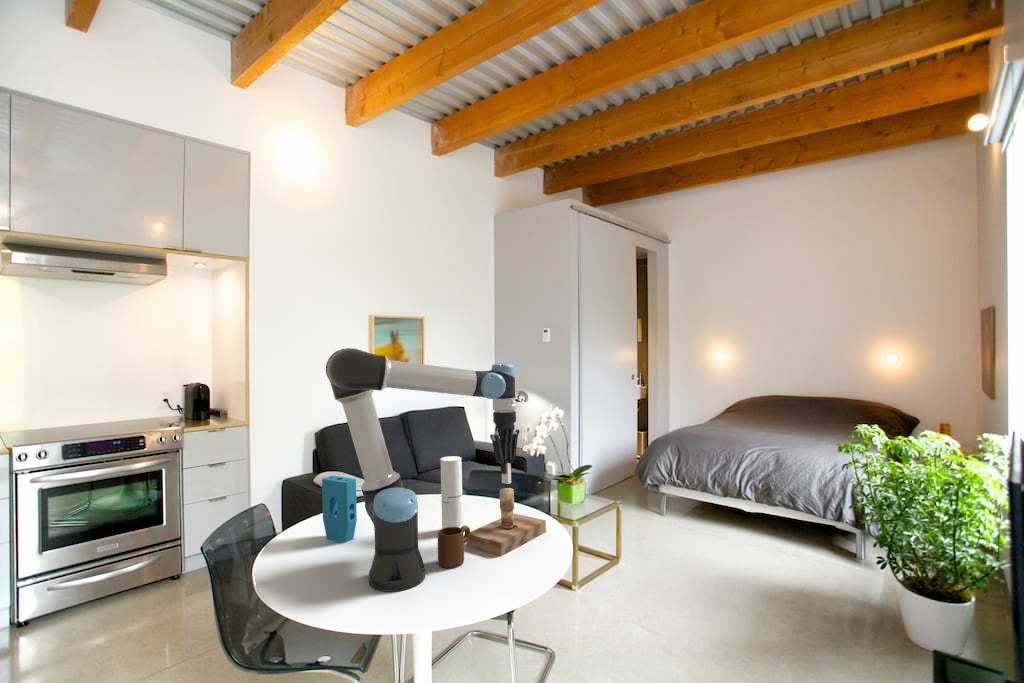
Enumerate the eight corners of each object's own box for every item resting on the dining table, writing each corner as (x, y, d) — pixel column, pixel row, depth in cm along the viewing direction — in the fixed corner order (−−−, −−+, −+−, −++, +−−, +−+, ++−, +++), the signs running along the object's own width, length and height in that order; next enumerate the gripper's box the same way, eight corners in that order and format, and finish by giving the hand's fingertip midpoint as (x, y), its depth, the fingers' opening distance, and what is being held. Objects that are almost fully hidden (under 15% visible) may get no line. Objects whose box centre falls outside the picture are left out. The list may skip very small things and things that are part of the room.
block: (321, 538, 174) (320, 478, 174) (333, 533, 178) (332, 475, 178) (346, 544, 168) (345, 482, 168) (358, 539, 172) (357, 479, 172)
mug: (460, 551, 160) (459, 520, 160) (479, 556, 155) (478, 525, 155) (432, 564, 150) (431, 532, 150) (451, 571, 146) (450, 537, 146)
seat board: (501, 556, 155) (501, 542, 155) (466, 546, 164) (466, 533, 164) (545, 532, 174) (545, 520, 174) (512, 524, 183) (512, 513, 183)
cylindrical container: (461, 535, 173) (460, 460, 174) (440, 535, 174) (438, 461, 174) (464, 527, 181) (462, 456, 181) (443, 528, 181) (442, 456, 181)
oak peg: (509, 542, 166) (507, 492, 166) (497, 539, 168) (496, 490, 169) (517, 538, 169) (516, 489, 169) (506, 535, 172) (505, 487, 172)
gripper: (500, 413, 162) (503, 489, 162) (525, 409, 172) (527, 480, 172) (482, 412, 166) (484, 485, 166) (507, 408, 177) (509, 477, 177)
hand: (506, 482), depth 169 cm, fingers closed
